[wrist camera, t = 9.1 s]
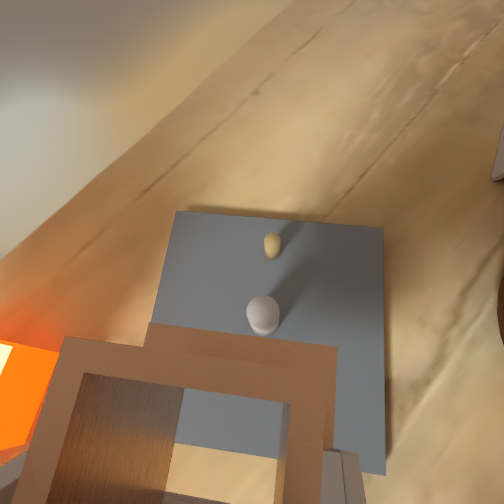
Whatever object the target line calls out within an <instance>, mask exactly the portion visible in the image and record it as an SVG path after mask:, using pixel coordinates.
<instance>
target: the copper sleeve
mask: <svg viewBox="0 0 504 504" xmlns="http://www.w3.org/2000/svg"><path fill="white" fill-rule="evenodd" d="M337 352H338V347H334V346H327V345H319V344H311V343H304V342H296V341H288V340H281V339H273V338H265V337H258V336H250V335H243V334H235V333H227V332H220V331H212V330H204V329H197V328H189V327H181V326H174V325H166V324H158V323H151V322H149V325H148V329H147V333H146V338H145V342H144V346H143V347H138V346H131V345H124V344H116V343H109V342H102V341H95V340H88V339H81V338H74V337H66V336H65V338H64V341H63V344H62V347H61V351H60V354H59V357H58V360H57V363H56V366H55V369H54V372H53V375H52V378H51V382H50V385H49V388H48V391H47V394H46V397H45V400H44V403H43V406H42V409H41V413H40V416H39V419H38V422H37V425H36V428H35V431H34V434H33V437H32V441H31V444H30V447H29V450H28V453H27V456H26V459H25V462H24V465H23V468H22V472H21V475H20V478H19V481H18V484H17V487H16V490H15V493H14V496H13V499H12V503H11V504H229V503H224V502H218V501H213V500H208V499H203V498H198V497H192V496H187V495H182V494H177V493H171V492H166V491H165V489H166V484H167V478H168V473H169V468H170V463H171V457H172V452H173V447H174V442H175V436H176V431H177V426H178V421H179V415H180V410H181V405H182V400H183V394H184V389H185V388H190V389H196V390H203V391H209V392H216V393H223V394H229V395H236V396H242V397H249V398H255V399H262V400H268V401H275V402H282V403H283V410H282V420H281V431H280V441H279V452H278V462H277V473H276V483H275V494H274V504H320V497H321V478H322V460H323V447H328V448H333V440H334V418H335V396H336V374H337Z"/></svg>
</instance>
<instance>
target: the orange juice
mask: <svg viewBox="0 0 504 504" xmlns="http://www.w3.org/2000/svg"><path fill="white" fill-rule="evenodd" d="M58 356H59V353H57V352H52V351H48V350H44V349H39V348H35V347H30V346H26V345H21V344H17V343H13V342H8V341H4V340H0V450H3V449H7V448H11V447H15V446H19V445H23V444H25V441H26V439H27V436H28V433H29V431H30V428H31V426H32V423H33V421H34V418H35V415H36V413H37V410H38V408H39V405H40V402H41V400H42V397H43V395H44V392H45V390H46V387H47V384H48V382H49V379H50V377H51V374H52V372H53V369H54V366H55V364H56V361H57V359H58Z"/></svg>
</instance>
